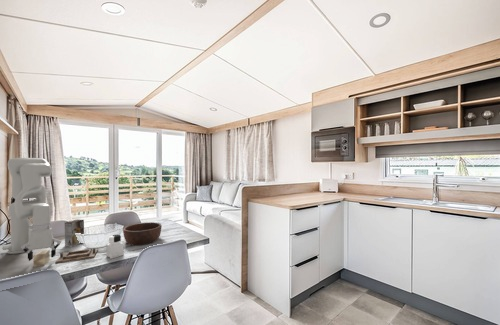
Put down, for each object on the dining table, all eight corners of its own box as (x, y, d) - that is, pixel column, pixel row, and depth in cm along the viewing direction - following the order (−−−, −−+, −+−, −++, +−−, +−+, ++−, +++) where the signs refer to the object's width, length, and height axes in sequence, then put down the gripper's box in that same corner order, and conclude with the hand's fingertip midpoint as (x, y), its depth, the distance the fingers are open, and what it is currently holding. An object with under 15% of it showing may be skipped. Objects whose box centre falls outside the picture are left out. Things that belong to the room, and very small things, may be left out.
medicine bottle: (119, 252, 145) (118, 233, 145) (123, 255, 141) (123, 235, 141) (106, 255, 140) (106, 235, 140) (111, 258, 135) (110, 238, 135)
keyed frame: (55, 263, 130) (55, 257, 130) (62, 255, 141) (62, 249, 141) (93, 257, 137) (93, 251, 137) (97, 250, 149) (97, 244, 149)
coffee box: (76, 241, 167) (76, 219, 167) (84, 242, 165) (84, 219, 165) (64, 246, 158) (64, 222, 158) (72, 246, 156) (72, 222, 156)
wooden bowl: (169, 237, 173) (169, 224, 173) (140, 249, 151) (140, 233, 151) (144, 234, 184) (144, 220, 184) (114, 244, 161) (114, 229, 161)
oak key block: (33, 267, 125) (33, 256, 125) (39, 261, 133) (39, 251, 133) (44, 265, 127) (44, 254, 127) (49, 260, 134) (49, 249, 135)
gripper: (17, 230, 123) (18, 263, 123) (58, 226, 130) (59, 257, 130) (24, 227, 130) (24, 258, 130) (63, 223, 137) (63, 253, 137)
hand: (42, 258), depth 130 cm, fingers open, 9 cm apart
